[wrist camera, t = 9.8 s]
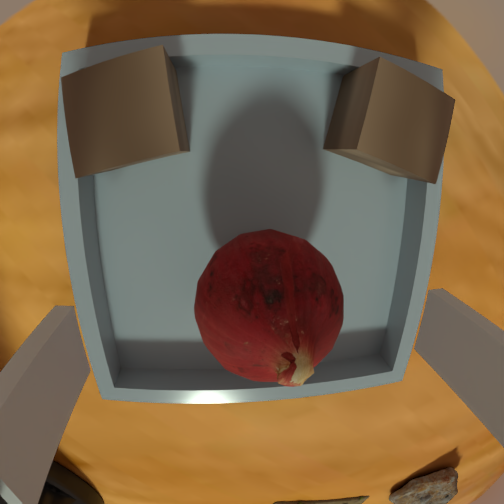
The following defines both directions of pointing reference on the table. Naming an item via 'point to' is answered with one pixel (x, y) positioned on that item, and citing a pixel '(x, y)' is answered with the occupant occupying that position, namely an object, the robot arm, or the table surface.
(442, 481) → the rock
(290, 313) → the onion
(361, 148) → the walnut cube
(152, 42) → the dish
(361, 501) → the speckled stone tile
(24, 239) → the table surface
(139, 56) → the walnut cube
